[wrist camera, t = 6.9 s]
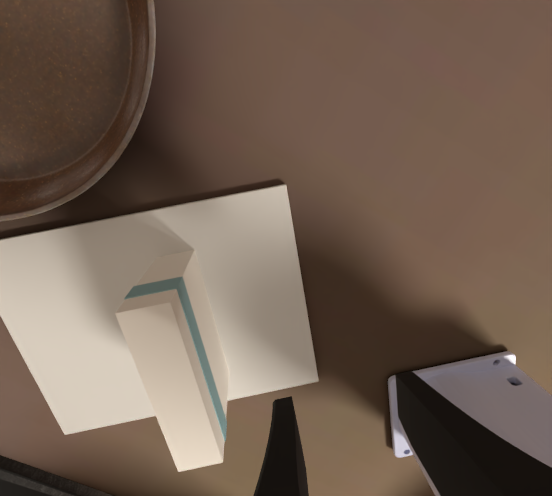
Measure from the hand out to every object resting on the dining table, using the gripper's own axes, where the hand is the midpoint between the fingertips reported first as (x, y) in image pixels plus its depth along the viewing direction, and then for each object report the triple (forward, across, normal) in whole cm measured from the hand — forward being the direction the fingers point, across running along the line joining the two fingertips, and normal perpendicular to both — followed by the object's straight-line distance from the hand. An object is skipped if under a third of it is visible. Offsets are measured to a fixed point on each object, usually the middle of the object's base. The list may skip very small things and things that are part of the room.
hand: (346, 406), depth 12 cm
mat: (+9, +9, 0) cm, 13 cm away
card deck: (+9, +7, 0) cm, 11 cm away
